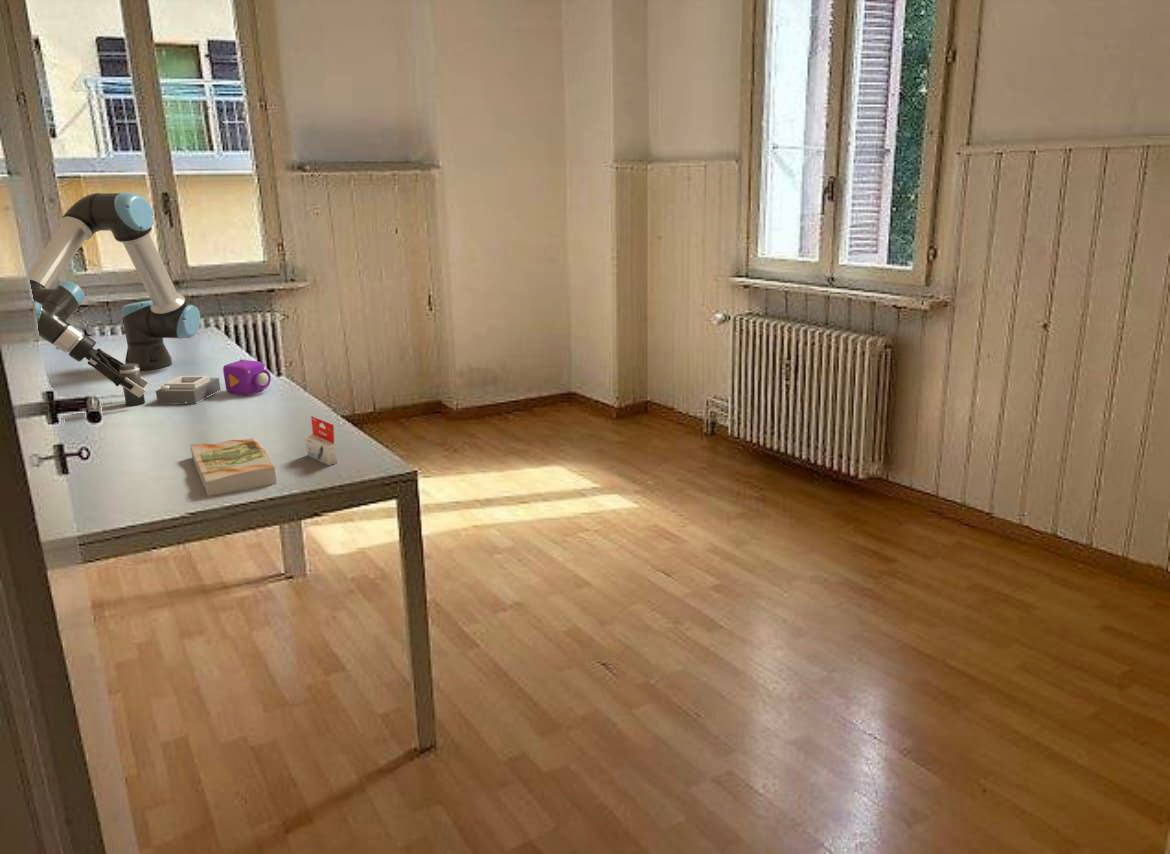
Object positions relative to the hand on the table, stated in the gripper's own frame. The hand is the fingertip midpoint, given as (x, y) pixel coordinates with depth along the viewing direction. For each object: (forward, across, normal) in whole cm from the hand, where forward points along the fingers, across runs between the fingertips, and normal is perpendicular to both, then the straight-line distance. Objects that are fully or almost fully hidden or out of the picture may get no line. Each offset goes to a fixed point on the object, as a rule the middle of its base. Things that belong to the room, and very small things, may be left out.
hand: (144, 389), depth 263 cm
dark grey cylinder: (+1, 0, -5) cm, 5 cm away
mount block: (+12, -2, +6) cm, 13 cm away
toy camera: (+24, +1, +18) cm, 31 cm away
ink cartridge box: (+34, +77, +28) cm, 89 cm away
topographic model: (+20, +76, +13) cm, 80 cm away
